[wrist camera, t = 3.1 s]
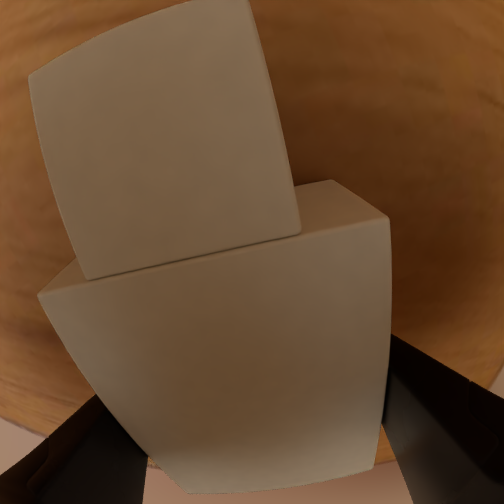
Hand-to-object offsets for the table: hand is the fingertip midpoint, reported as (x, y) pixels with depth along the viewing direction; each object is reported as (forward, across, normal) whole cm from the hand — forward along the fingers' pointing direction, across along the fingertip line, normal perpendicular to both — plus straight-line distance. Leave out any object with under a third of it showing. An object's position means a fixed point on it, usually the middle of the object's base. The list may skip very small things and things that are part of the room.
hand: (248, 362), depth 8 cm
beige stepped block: (+1, 0, -2) cm, 2 cm away
